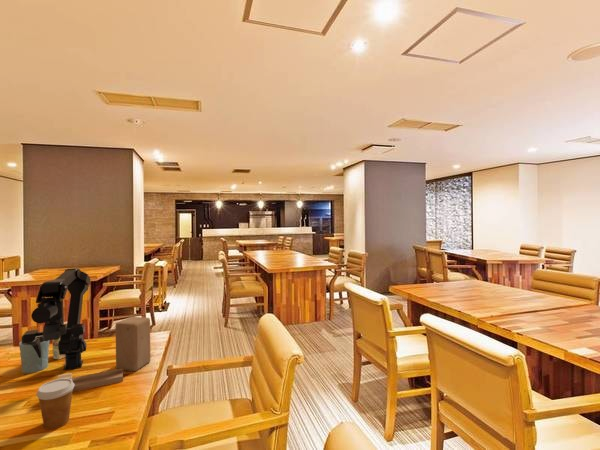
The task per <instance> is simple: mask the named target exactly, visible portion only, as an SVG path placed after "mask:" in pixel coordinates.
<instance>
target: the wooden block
mask: <svg viewBox="0 0 600 450" xmlns="http://www.w3.org/2000/svg"><path fill="white" fill-rule="evenodd" d="M151 359H152V357H151V319H150V317H142V316H130V317H128V318H124V319H123V320H120V321H117V322H116V323H115V369H121V368H123V371H127V372H128V371H130V372H137V371H139V370H140V369H142V368H143V367H145V366H146V365H148V364H149V363H150V362H151Z"/></svg>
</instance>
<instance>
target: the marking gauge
mask: <svg viewBox="0 0 600 450" xmlns="http://www.w3.org/2000/svg"><path fill="white" fill-rule="evenodd" d="M72 375H73V373H72V372H70V373H63V374H58V375H57V378H56V379H55V380H57V379H64V378H65V379H71V380H72V378H73V376H72Z"/></svg>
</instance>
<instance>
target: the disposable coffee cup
mask: <svg viewBox="0 0 600 450" xmlns="http://www.w3.org/2000/svg"><path fill="white" fill-rule="evenodd" d="M56 379H57V378H56ZM56 379H54V380H51V381H48V382H45V383H43V384H42V385H41V386H39V387H38V389H37V392H36V394H35V395H36V397H37V398H38V402H39V408H40V412H41V418H42V423H43V427H44V429H45V430H56V429H58V428H61V427H63V426H65V425H66V424H67V423H68V422H69V421H70V413H71V406H72V398H73V388H74V386H75V384H74V383H73V381H72V380H71V379H65V378H64V379H57V380H56Z"/></svg>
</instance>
